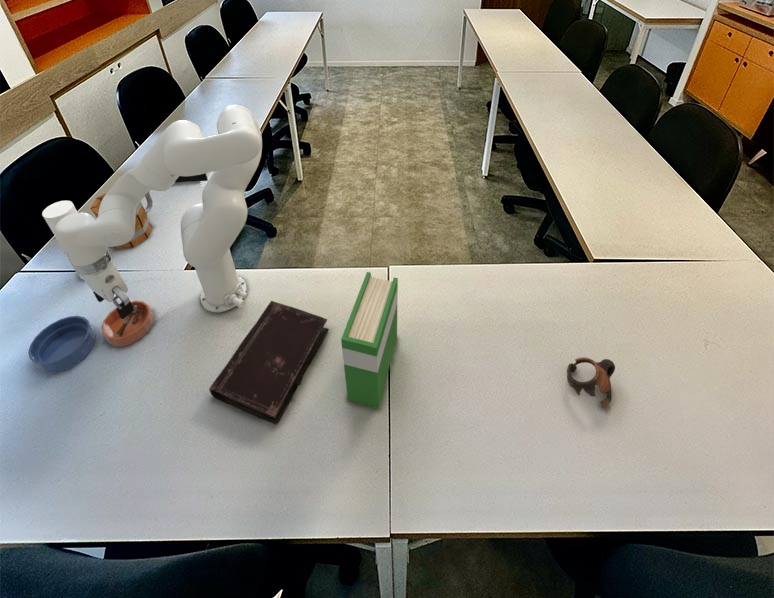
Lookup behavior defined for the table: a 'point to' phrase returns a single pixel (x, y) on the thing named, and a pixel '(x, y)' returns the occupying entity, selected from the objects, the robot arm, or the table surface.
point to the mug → (141, 222)
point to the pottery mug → (600, 378)
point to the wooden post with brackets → (127, 320)
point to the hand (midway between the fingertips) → (116, 305)
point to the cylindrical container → (58, 214)
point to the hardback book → (370, 340)
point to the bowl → (62, 344)
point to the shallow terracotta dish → (132, 330)
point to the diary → (271, 362)
